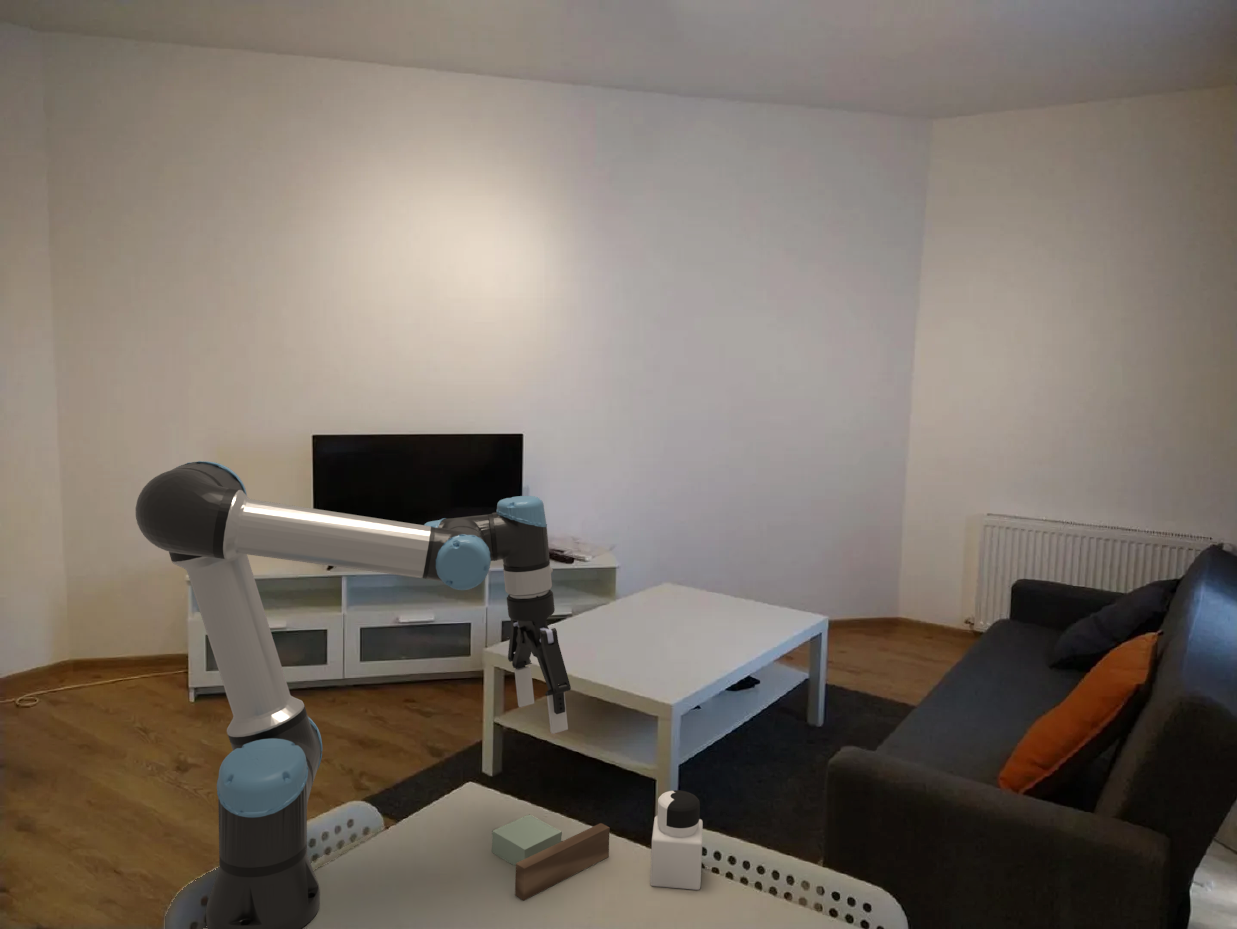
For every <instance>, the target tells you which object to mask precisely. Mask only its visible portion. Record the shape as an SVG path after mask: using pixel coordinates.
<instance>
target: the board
mask: <svg viewBox="0 0 1237 929" xmlns="http://www.w3.org/2000/svg"><path fill="white" fill-rule="evenodd" d="M610 831H611V830H610V827H609V826H608V825H606V824H604V823H602V822H600V823H597V824H596V825H594V826H592V827H590V828H588V829H585V830H583V831H581V832H578V833H577V834H574V835H572V836H571V837H569V838H566V839H565V840H562V842H560V843H558V844H555V845H553V846H551V847H549V848H547V849H545V850H543V851H541V852H539V853H536V854H534V855H532V856H530V857H528V858H526V859H524V860H522V861H520V862H517V863H516V867H515V878H514V879H515V882H514V884H515V885H514V886H515V887H514V895H515V896H516V897H517V898H518V899H521V901H525V900H528V899H529V898H532V897H533V896H535V895H538V894H539V893H541V892H543V891H545V890H547V889H549V888H551V887H553V886H554V885H557V884H559V883H561V882H562V881H565V880H566V879H568V878H570V877H572V876H575V875H576V874H578V873H580V872H582V871H584V870H585V869H587V868H590V867H592V866H593V865H594V866H595V864H597V863H599V862H602V861H603V860H605V859H607V858H609V857H610V856H609V855H610Z"/></svg>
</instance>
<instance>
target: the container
mask: <svg viewBox="0 0 1237 929" xmlns="http://www.w3.org/2000/svg"><path fill="white" fill-rule="evenodd" d="M700 803H701V801H700V800H699V798H698V797H697V796H696V794H693V793H691V792H689V791H685V790H680V789H677V790H668V791H665V792H663V793H662V794H661V795H660V796H659V797H658V799H657V814H656V816H654V821H653V827H652V834H651V851H650V852H651V854H650V855H651V856H650V875H649V876H650V880H649V882H650V883H649V884H650V885H651V886H652V887H657V888H658V887H661V888H672V889H683V890H694V891H695V890H696V891H698V890H700V889H701V885H702V884H701V883H702V882H701V880H702V859H703V858H702V857H703V827H704V826H703V824H704V823H703V819H701V818H700V812H701V810H700V805H701V804H700Z"/></svg>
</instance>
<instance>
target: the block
mask: <svg viewBox="0 0 1237 929" xmlns="http://www.w3.org/2000/svg"><path fill="white" fill-rule="evenodd" d="M562 834H563V833H562V831H561V830H560V829H558V828H556V827H555V826H552V825H550V824H548V823H547V822H545V821H543V820H541V819H539V818H537V817H536V816H534V815H531V814H530V813H529V814H527V815H524V816H522V817H520V818H518V819H515V820H512V821H511V822H509V823H507V824H504V825H502V826H500V827H498V828H496V829H493V830H492V833H491V838H492V839H491V853H492V854H493V855H495V856H496V857H499V858H500V859H502V860H503V861H505V862H507V863H509V864H510V865H512V866H514V867H515V868H516V863H517V862H520V861H522V860H524V859H526V858H528V857H530V856H532V855H534V854H536V853H539V852H541V851H543V850H545V849H547V848H549V847H551V846H553V845H555V844H558V843H560V842H562V841H563V840H562Z"/></svg>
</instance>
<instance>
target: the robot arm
mask: <svg viewBox="0 0 1237 929" xmlns="http://www.w3.org/2000/svg"><path fill="white" fill-rule="evenodd" d="M135 520H136V524H137V527H138V528H139V530H140V532H141V533H142V535H143V536H144V538H146V540H147V541H149V542H150V543H151V544H152V545H154V546H155V547H157V548H158V549H161V550H164V551H166V552H168V553H169V557H170V560H171V562H172V564H174V565H175V566H178V567H180V568H182V569H184V570H185V571H186V572H187V575H188V579H189V583H190V585H191V588H192V591H193V594H194V595H193V596H194V598H195V600H196V604H197V606H198V607H197V608H198V610H199V613H200V616H201V620H202V623H203V626H204V628H205V632H206V634H207V638H208V642H209V644H210V647H211V650H212V654H213V656H214V660H215V663H216V666H217V669H218V673H219V676H220V678H221V681H222V685H223V688H224V692H225V695H226V698H227V700H228V704H229V707H230V710H231V712H232V716H233V717H232V719H231V721H230V723H229V724H228V727H227V728H226V734H227V737H228V739H229V742H230V746H231V749H232V750H231V752H230V753H229V754H227V756H225V758H224V759H223V760H222V762H221V765H220V766H219V770H218V778H217V782H216V790H217V792H216V793H217V797H218V800H217V801H218V803H217V804H218V807H217V808H218V855H219V857H218V858H219V859H218V860H219V861H218V862H219V866H218V871H217V873H216V877H215V879H214V883H213V885H212V888H211V891H210V895H209V898H208V901H207V904H206V910H205V912H206V915H205V918H206V920H205V922H206V924H205V925H206V929H302V928H304V927H305V926H306V925H307V924H308V923H310V922H311V921H312V920H313V919H314V918H315V916H316V915H317V913H318V912H319V909H320V904H321V902H320V899H321V898H320V896H321V894H320V893H321V890H320V885H319V882H318V879H317V877H316V874H315V871H314V869H313V866H312V864H311V861H310V858H309V855H308V851H307V850H308V842H307V841H308V804H309V803H308V802H309V798H310V795H311V791H312V787H313V785H314V781H315V778H316V775H317V772H318V770H319V768H320V765H321V762H322V757H323V742H322V741H323V740H322V736H321V732H320V730H319V728H318V726H317V725H316V723H315V722H314V721H313V720H312V718H311V717H310V716H309V715H308V713H307V709H306V706H305V704H304V702H303V700H302V699H299V698H297V697H294V696H292V695H291V692H290V688H289V686H288V683H287V680H286V676H285V673H284V670H283V666H282V663H281V659H280V657H279V653H278V650H277V647H276V644H275V641H274V639H273V638H274V637H273V634H272V631H271V628H270V624H269V621H268V619H267V615H266V612H265V608H264V605H263V602H262V599H261V595H260V592H259V589H258V586H257V581H256V580H255V576H254V573H253V569H252V566H251V562H250V560H249V557H248V556H249V555H250V556H256V557H264V558H269V559H270V558H271V559H278V560H279V559H280V560H284V561H285V560H287V561H292V562H293V561H294V562H302V563H307V564H315V565H323V566H330V567H336V568H337V567H338V568H345V569H353V570H361V571H366V572H367V571H368V572H376V573H383V574H387V575H388V574H389V575H390V574H391V575H396V576H402V577H403V576H404V577H411V578H417V579H419V578H420V579H426V580H429V581H437V582H442V583H443V584H444V585H446V586H448V587H450V588H452V589H453V590H458V591H466V590H471V589H474V588H476V587H477V586H479V585H480V584H482V582H484V580H485V579H486V578H487V576H488V573H489V571H490V568H491V562H495V561H500V560H502V565H503V566H502V567H503V569H502V571H503V580H504V589H505V590H504V591H505V593H506V594H508V595H507V597H506V605H507V606H506V607H507V614H508V618H509V619H510V632H509V641H508V642H509V643H508V652H507V660H508V662H510V663H511V665H512V668H513V669H514V678H515V689H516V698H517V706H518V707H519V708H523V707H526V706H530V705H533V704H534V705H535V695H534V686H533V685H534V684H533V676H532V675H533V674H532V667H531V666H530V665H531V664H533V663H532V661H531V655H532V656H533V657H535V658H536V659H537V662H538V665H539V667H540V670H541V673H542V675H543V679H544V681H545V684H546V686H547V689H548V690H546V692H545V696H546V700H547V710H548V720H549V731H550V733H551V734H552V735H554V734H557V733H561V732H564V731H568V730H569V726H568V725H569V724H568V716H567V705H566V704H567V702H566V694H565V692H569V691H571V690H572V688H571V687H572V686H571V683H570V679H569V675H568V673H567V672H568V671H567V670H566V666H565V661H564V658H563V654H562V651H561V647H560V643H559V637H558V631H557V630H558V629H556V627H553V628H549V626H548V622H547V619H548V618H549V617H551V616H552V615H553V614H554V613H555V608H556V607H555V600H554V592H553V591H552V590H551V588H552V587H553V582H552V573H553V572H554V570H553V568H552V566H551V560H550V559H551V558H550V548H549V537H548V536H549V535H548V524H547V519H546V512H545V506H544V502H543V500H542V499H541V498H540V497H538V496H534V495H520V496H512V497H506V498H503V499H502V498H501V499H500V500H499V501H498V502H497V505H496V512H492V513H489V514H482V515H471V516H462V517H454V518H453V517H452V518H447V517H444V518H441V519H439V520H438V519H437V520H432V521H427V522H426V523H424V524H416V523H410V522H403V521H397V520H393V519H392V520H390V519H383V518H377V517H371V516H364V515H357V514H352V513H345V512H337V511H331V510H326V509H325V510H324V509H318V508H311V507H305V506H298V505H293V504H292V505H291V504H286V503H278V502H271V501H265V500H264V501H263V500H259V499H252V498H249V497H248V495H247V490H246V486H245V484H244V482H243V481H242V478H240V477H239V475H238V474H237V473H236V472H235V471H233V470H232V469H231V468H229V467H227V466H225V465H224V464H221V463H217V462H214V461H209V460H208V461H207V460H206V461H205V460H204V461H201V460H198V461H192V462H187V463H184V464H179V465H178V466H176V467H175V468H173V469H170V470H168V471H167V470H166V471H165V472H162V473H160V474H158V475H156V476H155V477H153V478H152V479H151V480H149V481H148V482H147V483H146V485H145V486H144V487H143V488H142V490H141V491H140V493H139V494H138V497H137V500H136V506H135Z"/></svg>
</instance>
